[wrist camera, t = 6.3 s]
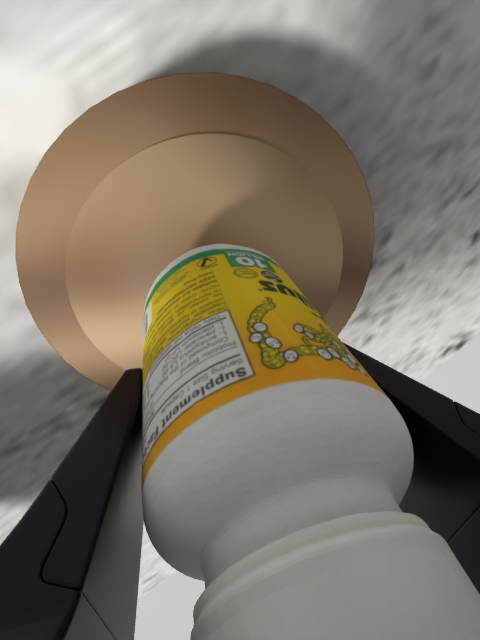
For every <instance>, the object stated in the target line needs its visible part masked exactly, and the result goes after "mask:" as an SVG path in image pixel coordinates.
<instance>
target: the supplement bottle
mask: <svg viewBox="0 0 480 640" xmlns="http://www.w3.org/2000/svg"><path fill="white" fill-rule="evenodd" d="M142 382H143V386H142V480H141V487H142V510H143V519H144V523H145V527H146V531H147V533H148V536H149V538H150V540H151V542H152V544H153V546H154V547H155V549H156V550H157V552H158V553H159V555H160V556H161V557H162V558H163V559H164V560H165V561H166V562H167V563H168V564H170V565H171V566H172V567H173V568H175V569H176V570H178V571H179V572H181V573H183V574H185V575H187V576H189V577H192V578H194V579H198V580H202V581H205V590H204V592H203V593H202V594H201V596H200V597H199V599H198V600H197V602H196V604H195V606H194V613H193V617H194V627H193V629H192V632H191V640H480V594H479V593H478V591H477V589H476V588H475V586H474V585H473V583H472V582H471V580H470V579H469V577H468V576H467V574H466V572H465V571H464V569H463V568H462V566H461V565H460V563H459V562H458V560H457V558H456V557H455V555H454V554H453V552H452V550H451V549H450V547H449V545H448V544H447V542H446V541H445V539H444V538H442V537H441V536H440V535H439V534H437V533H435V532H433V531H432V530H430V528H429V527H428V525H427V524H426V523H425V522H424V521H423V520H422V519H421V518H419V517H418V516H416V515H413V514H410V513H403V512H402V510H401V509H400V507H399V506H398V505H399V504H400V502H401V501H402V499H403V497H404V495H405V493H406V491H407V489H408V486H409V483H410V480H411V477H412V472H413V464H414V453H413V445H412V440H411V437H410V434H409V431H408V428H407V426H406V424H405V422H404V420H403V418H402V416H401V415H400V413H399V412H398V410H397V409H396V407H395V406H394V405H393V403H392V401H391V400H390V399H389V398H388V396H387V395H386V394H385V393H384V392H383V391H382V389H381V388H380V387H379V386H378V385H377V384H376V382H375V381H374V380H373V379H372V378H371V376H370V375H369V374H368V373H367V372H366V370H365V369H364V368H363V367H362V365H361V364H360V363H359V362H358V361H357V360H356V358H355V357H354V356H353V355H352V354H351V353H350V351H349V350H348V349H347V348H346V346H345V345H344V344H343V343H342V342H341V340H340V339H339V338H338V337H337V336H336V334H335V333H334V332H333V331H332V330H331V328H330V327H329V326H328V324H327V323H326V322H325V320H324V319H323V318H322V317H321V316H320V315H319V313H318V312H317V311H316V310H315V309H314V307H313V306H312V305H311V303H310V302H309V301H308V299H307V298H306V297H305V296H304V295H303V294H302V293H301V291H300V290H299V289H298V287H297V286H296V285H295V284H294V283H293V281H292V280H291V279H290V278H289V276H288V275H287V274H286V273H285V272H284V271H283V269H282V268H281V267H280V266H279V265H278V264H277V263H276V262H275V261H274V260H273V259H271V258H270V257H269V256H267V255H265V254H264V253H262V252H260V251H257V250H255V249H252V248H247V247H243V246H238V245H231V244H212V245H206V246H202V247H198V248H195V249H192V250H190V251H188V252H186V253H185V254H183V255H181V256H180V257H178V258H176V259H175V260H174V261H172V262H171V263H170V264H169V265H168V266H167V267H166V268H165V269H164V270H163V271H162V272H161V273H160V274H159V275H158V277H157V278H156V279H155V281H154V283H153V285H152V286H151V288H150V291H149V293H148V296H147V299H146V302H145V308H144V321H143V376H142Z"/></svg>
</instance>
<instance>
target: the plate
mask: <svg viewBox="0 0 480 640" xmlns="http://www.w3.org/2000/svg"><path fill="white" fill-rule="evenodd" d="M212 244H231V245H238V246H243V247H247V248H252V249H255V250H257V251H260V252H262V253H264V254H265V255H267V256H269V257H270V258H271V259H273V260H274V261H275V262H276V263H277V264H278V265H279V266H280V267H281V268H282V269H283V271H284V272H285V273H286V274H287V275H288V276H289V278H290V279H291V280H292V281H293V283H294V284H295V285H296V286H297V287H298V289H299V290H300V291H301V293H302V294H303V295H304V296H305V297H306V298H307V299H308V301H309V302H310V303H311V305H312V306H313V307H314V309H315V310H316V311H317V312H318V313H319V315H320V316H321V317H322V318H323V319H324V320H325V322H326V323H327V324H328V326H329V327H330V328H331V330H332V331H333V332H334V333H335V334H336V336H338V334H339V333H340V332H341V330H342V329H343V328H344V326H345V325H346V323H347V322H348V320H349V318H350V317H351V315H352V313H353V312H354V310H355V308H356V306H357V304H358V302H359V300H360V297H361V295H362V293H363V290H364V287H365V284H366V281H367V279H368V276H369V271H370V266H371V262H372V257H373V247H374V216H373V210H372V205H371V199H370V194H369V191H368V188H367V185H366V182H365V179H364V176H363V173H362V171H361V169H360V167H359V166H358V164H357V162H356V160H355V158H354V156H353V154H352V152H351V151H350V149H349V148H348V146H347V145H346V144H345V142H344V141H343V139H342V138H341V137H340V135H339V134H338V133H337V132H336V131H335V130H334V129H333V128H332V127H331V126H330V125H329V124H328V123H327V122H326V121H325V120H324V119H323V118H322V116H321V115H319V114H318V113H317V112H315V111H314V110H313V109H311V108H310V107H308V106H307V105H306V104H304V103H303V102H302V101H300V100H299V99H297V98H295V97H293V96H291V95H289V94H287V93H285V92H284V91H282V90H280V89H278V88H276V87H274V86H271V85H268V84H265V83H262V82H258V81H255V80H252V79H249V78H246V77H241V76H234V75H226V74H219V73H184V74H176V75H171V76H166V77H161V78H156V79H151V80H147V81H144V82H142V83H139V84H137V85H134V86H131V87H129V88H126V89H124V90H121V91H118V92H116V93H115V94H113V95H111V96H110V97H108V98H106V99H105V100H103V101H101V102H100V103H98V104H96V105H94V106H93V107H91V108H89V109H88V110H87V111H86V112H85V113H84V114H82V115H81V116H80V117H79V118H78V119H76V120H75V121H74V122H73V123H72V124H71V125H69V126H68V127H67V128H66V129H65V130H64V131H63V132H62V134H61V135H60V136H59V137H58V138H57V140H56V141H55V142H54V143H53V144H52V146H51V147H50V148H49V149H48V150H47V152H46V153H45V154H44V156H43V158H42V160H41V161H40V163H39V165H38V167H37V168H36V170H35V172H34V174H33V175H32V177H31V179H30V181H29V184H28V187H27V190H26V192H25V195H24V198H23V201H22V203H21V207H20V212H19V218H18V223H17V229H16V264H17V270H18V277H19V283H20V286H21V289H22V292H23V295H24V299H25V302H26V305H27V307H28V309H29V311H30V313H31V315H32V317H33V319H34V321H35V323H36V325H37V327H38V328H39V330H40V331H41V332H42V334H43V335H44V337H45V338H46V340H47V341H48V342H49V344H50V345H51V346H52V347H53V348H54V349H55V350H56V352H57V353H58V354H59V355H60V356H61V357H62V358H63V359H64V360H65V361H66V362H67V363H69V364H70V365H71V366H72V367H73V368H75V369H76V370H77V371H78V372H79V373H81V374H82V375H84V376H85V377H87V378H88V379H90V380H91V381H93V382H95V383H96V384H98V385H100V386H102V387H104V388H106V389H108V390H110V391H112V389H113V388H114V386H115V385H116V383H117V382H118V380H119V379H120V378H121V376H122V375H123V373H124V372H125V371H126V370H127V369H133V368H141V369H142V370H143V321H144V308H145V302H146V299H147V296H148V293H149V291H150V288H151V286H152V285H153V283H154V281H155V279H156V278H157V277H158V275H159V274H160V273H161V272H162V271H163V270H164V269H165V268H166V267H167V266H168V265H169V264H170V263H171V262H172V261H174V260H175V259H176V258H178V257H180V256H181V255H183V254H185V253H186V252H188V251H190V250H192V249H195V248H198V247H202V246H206V245H212Z"/></svg>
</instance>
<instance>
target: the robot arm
mask: <svg viewBox="0 0 480 640" xmlns="http://www.w3.org/2000/svg"><path fill="white" fill-rule="evenodd" d="M342 343H343V342H342ZM343 344H344V345H345V346H346V348H347V349H348V350H349V351H350V353H351V354H352V355H353V356H354V357H355V358H356V360H357V361H358V362H359V363H360V364H361V365H362V367H363V368H364V369H365V370H366V372H367V373H368V374H369V375H370V376H371V378H372V379H373V380H374V381H375V382H376V384H377V385H378V386H379V387H380V388H381V389H382V391H383V392H384V393H385V394H386V395H387V396H388V398H389V399H390V400H391V401H392V403H393V405H394V406H395V407H396V409H397V410H398V412H399V413H400V415H401V416H402V418H403V420H404V422H405V424H406V426H407V428H408V431H409V434H410V437H411V440H412V445H413V453H414V464H413V472H412V477H411V480H410V483H409V486H408V489H407V491H406V493H405V495H404V497H403V499H402V501H401V502H400V504H399V505H398V506H399V507H400V509H401V510H402V512H403V513H410V514H413V515H416V516H418V517H419V518H421V519H422V520H423V521H424V522H425V523H426V524H427V525H428V527H429V528H430V530H432V531H433V532H435V533H437V534H439V535H440V536H441V537H442V538H444V539H445V541H446V542H447V544H448V545H449V547H450V549H451V550H452V552H453V554H454V555H455V557H456V558H457V560H458V562H459V563H460V565H461V566H462V568H463V569H464V571H465V572H466V574H467V576H468V577H469V579H470V580H471V582H472V583H473V585H474V586H475V588H476V589H477V591H478V593H479V594H480V414H479V413H477V412H475V411H473V410H471V409H469V408H467V407H465V406H463V405H461V404H459V403H457V402H453V400H451V399H450V398H448V397H446V396H444V395H442V394H440V393H438V392H436V391H434V390H432V389H430V388H428V387H427V386H425V385H423V384H421V383H419V382H417V381H415V380H413V379H411V378H410V377H408V376H406V375H404V374H402V373H400V372H398V371H396V370H394V369H392V368H391V367H389V366H387V365H385V364H383V363H381V362H379V361H377V360H375V359H373V358H371V357H370V356H368V355H366V354H364V353H362V352H360V351H358V350H356V349H354V348H352V347H350V346H349V345H347V344H345V343H343ZM142 376H143V370H142V369H141V368H133V369H127V370H126V371H125V372H124V373H123V375H122V376H121V378H120V379H119V380H118V382H117V383H116V385H115V386H114V388H113V389H112V391H111V392H110V393H109V395H108V396H107V398H106V399H105V401H104V402H103V403H102V405H101V406H100V408H99V409H98V411H97V412H96V414H95V415H94V416H93V418H92V419H91V421H90V422H89V424H88V425H87V426H86V428H85V429H84V431H83V432H82V434H81V435H80V437H79V438H78V439H77V441H76V442H75V444H74V445H73V447H72V448H71V449H70V451H69V452H68V454H67V455H66V457H65V458H64V460H63V461H62V462H61V464H60V465H59V467H58V468H57V470H56V471H55V473H54V474H53V475H52V477H51V479H52V480H49V481H48V482H47V484H46V485H45V487H44V488H43V490H42V491H41V492H40V494H39V495H38V497H37V498H36V499H35V501H34V502H33V504H32V505H31V506H30V508H29V509H28V510H27V512H26V513H25V514H24V516H23V517H22V519H21V520H20V521H19V523H18V524H17V525H16V526H15V528H14V529H13V530H12V531H11V533H10V534H9V535H8V536H7V538H6V539H5V540H4V541H3V543H2V544H1V545H0V640H134V632H135V619H136V606H137V595H138V583H139V571H140V558H141V546H142V534H143V522H144V519H143V510H142V487H141V480H142V386H143V382H142Z"/></svg>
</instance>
